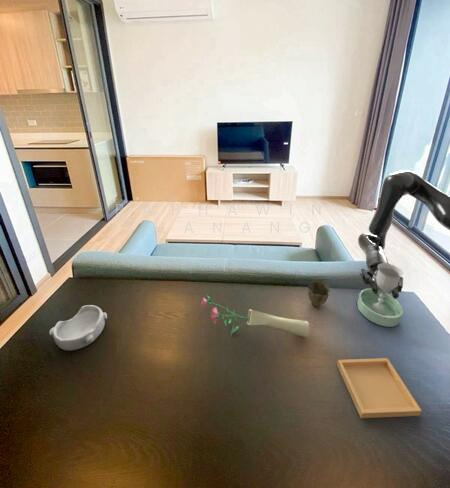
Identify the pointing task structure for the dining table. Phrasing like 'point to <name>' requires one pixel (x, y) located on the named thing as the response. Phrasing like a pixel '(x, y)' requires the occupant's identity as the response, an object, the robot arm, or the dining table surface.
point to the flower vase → (263, 320)
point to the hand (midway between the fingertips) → (385, 294)
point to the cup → (317, 293)
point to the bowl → (390, 304)
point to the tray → (377, 388)
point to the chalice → (385, 284)
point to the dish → (79, 328)
